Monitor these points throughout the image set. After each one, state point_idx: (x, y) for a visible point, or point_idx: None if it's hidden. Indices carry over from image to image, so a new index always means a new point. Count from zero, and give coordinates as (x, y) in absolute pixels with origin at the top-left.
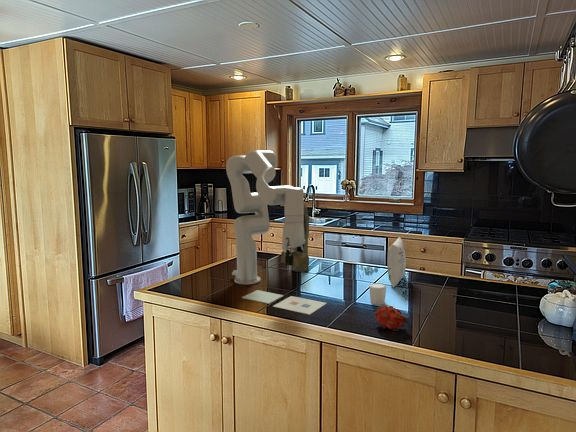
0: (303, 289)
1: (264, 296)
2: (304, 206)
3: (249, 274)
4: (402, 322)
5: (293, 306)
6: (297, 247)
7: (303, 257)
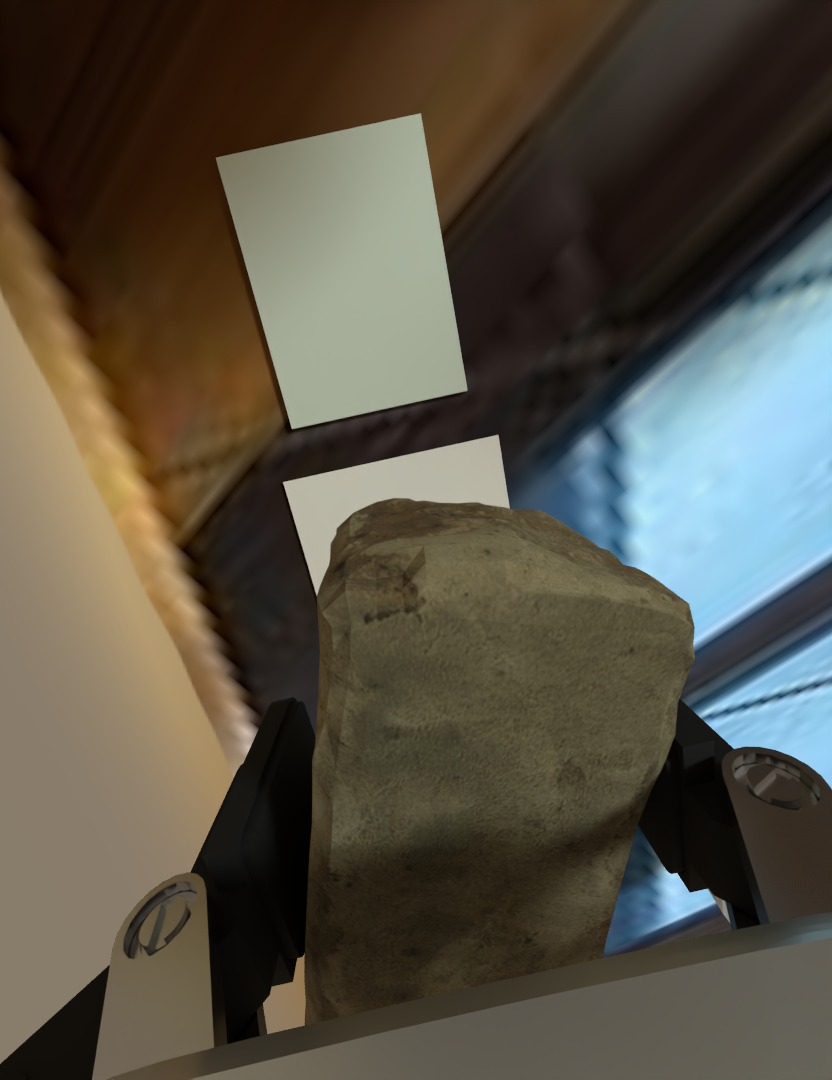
0: (659, 395)
1: (357, 298)
2: None
3: None
4: None
5: None
6: (789, 868)
7: None
